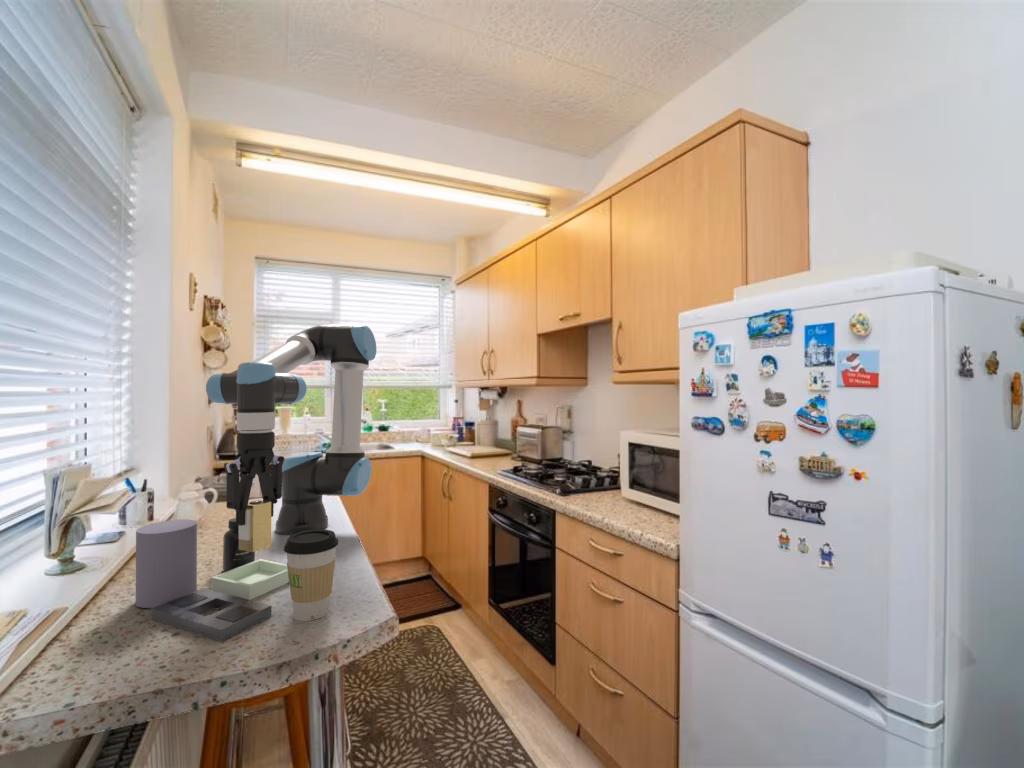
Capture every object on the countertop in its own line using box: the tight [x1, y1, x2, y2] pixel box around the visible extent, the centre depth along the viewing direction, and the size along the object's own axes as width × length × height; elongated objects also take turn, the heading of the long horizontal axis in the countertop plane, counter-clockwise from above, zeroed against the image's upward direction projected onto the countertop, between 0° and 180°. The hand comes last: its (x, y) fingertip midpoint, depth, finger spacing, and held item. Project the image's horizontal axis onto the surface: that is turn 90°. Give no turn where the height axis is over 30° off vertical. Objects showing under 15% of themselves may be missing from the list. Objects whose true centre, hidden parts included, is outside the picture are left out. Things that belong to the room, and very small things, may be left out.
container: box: [135, 518, 198, 610], centre depth 98 cm, size 10×10×15 cm
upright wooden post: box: [239, 499, 272, 553], centre depth 105 cm, size 4×4×10 cm
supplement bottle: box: [222, 517, 256, 573], centre depth 114 cm, size 7×7×12 cm
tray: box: [210, 558, 289, 600], centre depth 105 cm, size 12×12×3 cm
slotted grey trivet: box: [150, 587, 273, 642], centre depth 90 cm, size 10×20×2 cm, turn 67°
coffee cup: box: [283, 529, 339, 622], centre depth 91 cm, size 10×10×15 cm
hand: (255, 535), depth 105 cm, fingers closed on upright wooden post, 4 cm apart
